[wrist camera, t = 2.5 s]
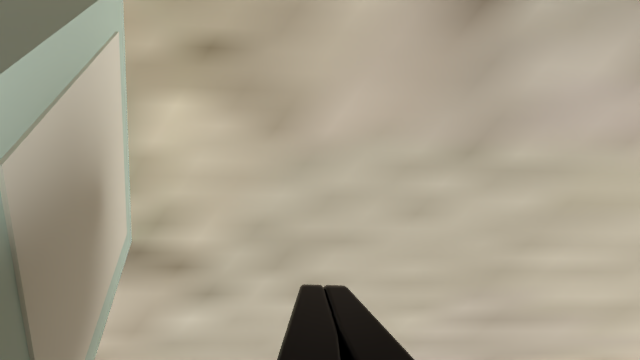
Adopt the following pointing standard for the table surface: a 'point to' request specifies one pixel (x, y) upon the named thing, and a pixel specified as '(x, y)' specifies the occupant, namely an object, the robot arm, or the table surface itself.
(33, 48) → the tile
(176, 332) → the table surface
